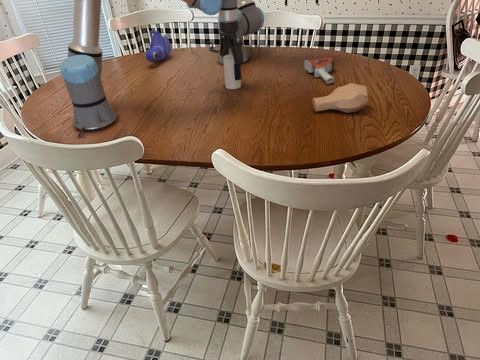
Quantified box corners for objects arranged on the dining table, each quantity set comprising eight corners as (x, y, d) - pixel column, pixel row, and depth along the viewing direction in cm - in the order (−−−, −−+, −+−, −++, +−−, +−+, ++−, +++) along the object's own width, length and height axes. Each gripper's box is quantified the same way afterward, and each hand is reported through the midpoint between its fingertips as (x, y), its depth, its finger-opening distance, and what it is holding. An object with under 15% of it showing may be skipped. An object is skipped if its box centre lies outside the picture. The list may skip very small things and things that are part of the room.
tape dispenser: (330, 89, 151) (346, 71, 163) (331, 77, 147) (348, 59, 160) (292, 80, 158) (310, 64, 171) (293, 69, 155) (311, 53, 167)
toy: (159, 62, 200) (139, 68, 178) (155, 30, 193) (133, 32, 171) (176, 61, 198) (157, 67, 176) (172, 29, 191) (151, 31, 169)
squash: (372, 113, 127) (374, 92, 121) (316, 123, 129) (316, 102, 123) (363, 96, 135) (365, 75, 129) (310, 106, 137) (310, 86, 130)
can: (230, 90, 152) (228, 60, 144) (222, 85, 156) (220, 56, 149) (244, 86, 155) (242, 56, 147) (235, 82, 159) (233, 53, 152)
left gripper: (251, 23, 133) (253, 81, 147) (224, 14, 149) (228, 67, 162) (233, 27, 130) (237, 86, 144) (208, 17, 146) (213, 71, 159)
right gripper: (274, -50, 142) (274, 7, 155) (336, -54, 142) (331, 4, 154) (272, -52, 148) (272, 4, 161) (332, -55, 148) (327, 1, 160)
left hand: (232, 76), depth 153 cm, fingers open, 9 cm apart
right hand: (301, 4), depth 157 cm, fingers open, 13 cm apart
